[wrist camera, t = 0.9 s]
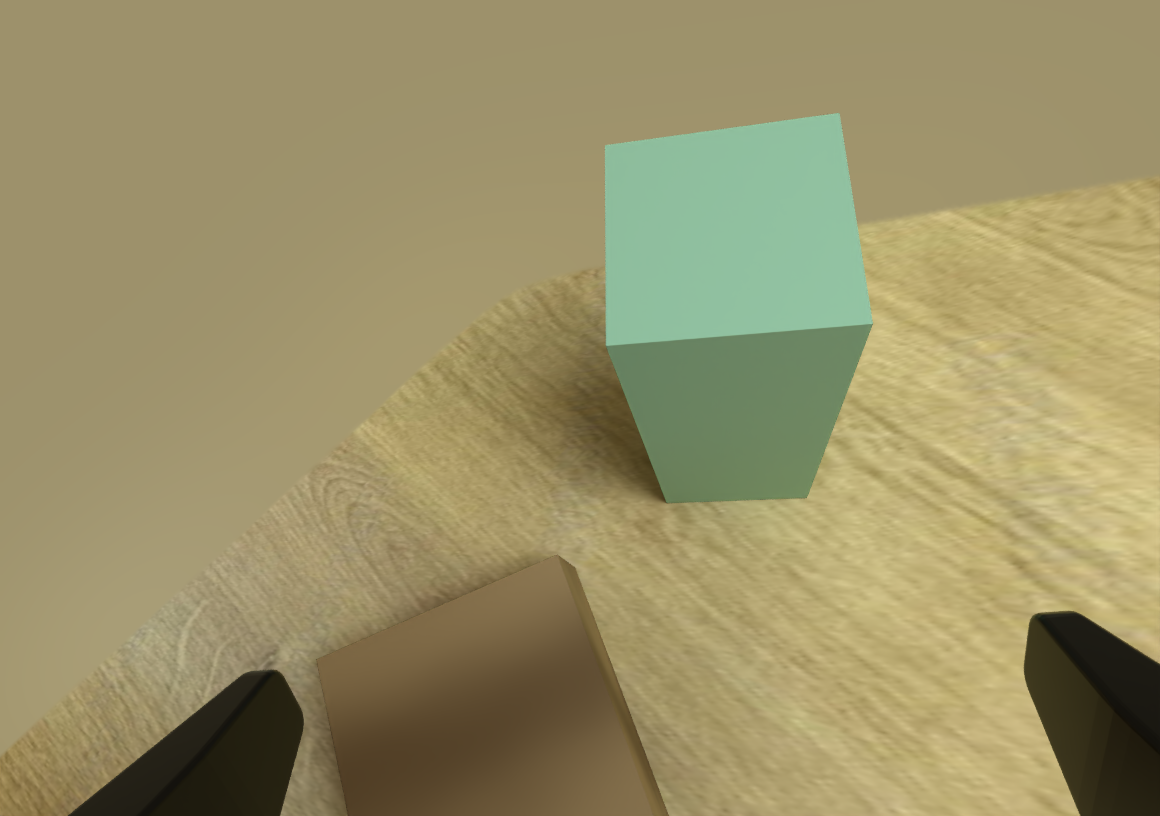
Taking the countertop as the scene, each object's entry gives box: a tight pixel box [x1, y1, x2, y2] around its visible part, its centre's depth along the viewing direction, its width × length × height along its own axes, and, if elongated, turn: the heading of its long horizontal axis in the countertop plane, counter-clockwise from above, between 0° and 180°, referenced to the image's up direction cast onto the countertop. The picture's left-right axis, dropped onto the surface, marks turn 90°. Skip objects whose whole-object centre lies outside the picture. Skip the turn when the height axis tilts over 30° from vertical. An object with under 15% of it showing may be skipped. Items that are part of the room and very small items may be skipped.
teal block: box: [605, 113, 873, 503], centre depth 18 cm, size 4×4×12 cm
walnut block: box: [316, 555, 669, 816], centre depth 21 cm, size 8×8×3 cm
